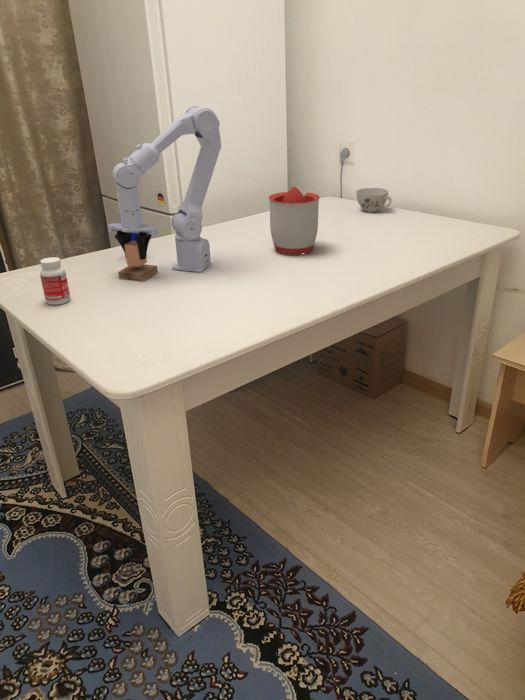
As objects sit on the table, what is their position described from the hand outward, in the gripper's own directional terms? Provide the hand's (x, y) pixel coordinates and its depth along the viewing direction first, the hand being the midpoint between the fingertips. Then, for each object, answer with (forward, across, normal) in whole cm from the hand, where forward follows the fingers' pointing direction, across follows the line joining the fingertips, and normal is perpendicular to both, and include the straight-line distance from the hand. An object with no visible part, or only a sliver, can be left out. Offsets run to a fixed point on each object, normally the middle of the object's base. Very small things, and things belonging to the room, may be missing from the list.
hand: (136, 257), depth 156 cm
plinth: (+5, 0, 0) cm, 5 cm away
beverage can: (+5, -10, +14) cm, 18 cm away
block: (+2, 0, 0) cm, 2 cm away
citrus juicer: (+5, +36, +36) cm, 51 cm away
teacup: (+6, +52, +93) cm, 107 cm away
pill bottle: (+5, -10, -23) cm, 26 cm away
